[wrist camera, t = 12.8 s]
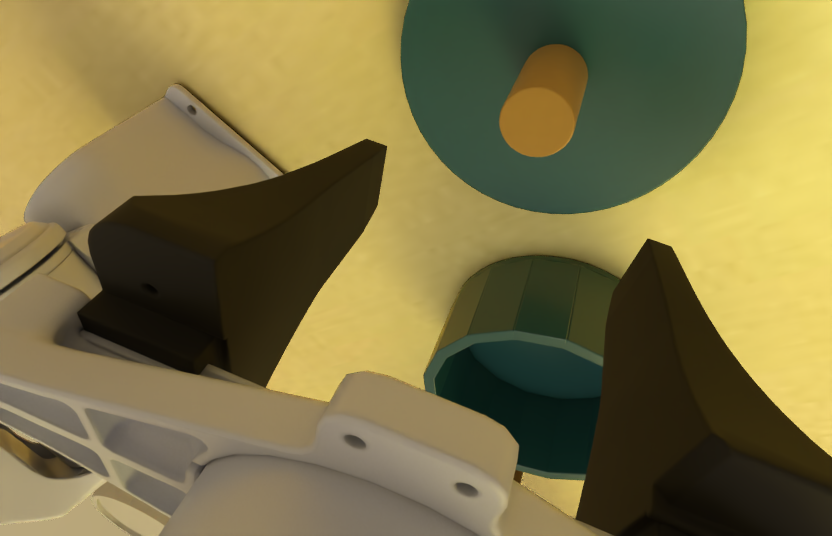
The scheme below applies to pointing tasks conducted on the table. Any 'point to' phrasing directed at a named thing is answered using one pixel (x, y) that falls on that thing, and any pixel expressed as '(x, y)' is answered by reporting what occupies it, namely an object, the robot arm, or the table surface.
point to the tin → (530, 357)
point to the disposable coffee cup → (128, 511)
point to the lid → (570, 92)
